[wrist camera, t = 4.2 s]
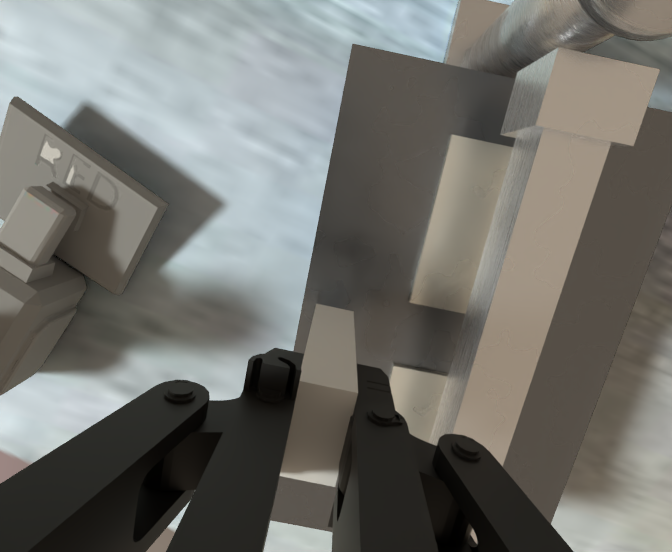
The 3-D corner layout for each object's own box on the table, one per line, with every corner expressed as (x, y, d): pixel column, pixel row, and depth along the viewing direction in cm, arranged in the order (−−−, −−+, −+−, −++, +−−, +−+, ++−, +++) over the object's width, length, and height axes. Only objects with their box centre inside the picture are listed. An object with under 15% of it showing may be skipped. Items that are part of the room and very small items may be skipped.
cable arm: (511, 70, 14) (551, 45, 11) (605, 91, 14) (667, 71, 11) (361, 616, 19) (364, 688, 17) (431, 629, 19) (445, 703, 17)
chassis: (350, 78, 22) (352, 40, 16) (611, 134, 23) (712, 117, 16) (279, 445, 27) (259, 525, 21) (493, 486, 28) (536, 576, 21)
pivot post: (458, 1, 21) (616, -245, 9) (555, 22, 21) (847, -190, 9) (433, 106, 22) (541, 19, 10) (525, 126, 23) (747, 64, 10)
